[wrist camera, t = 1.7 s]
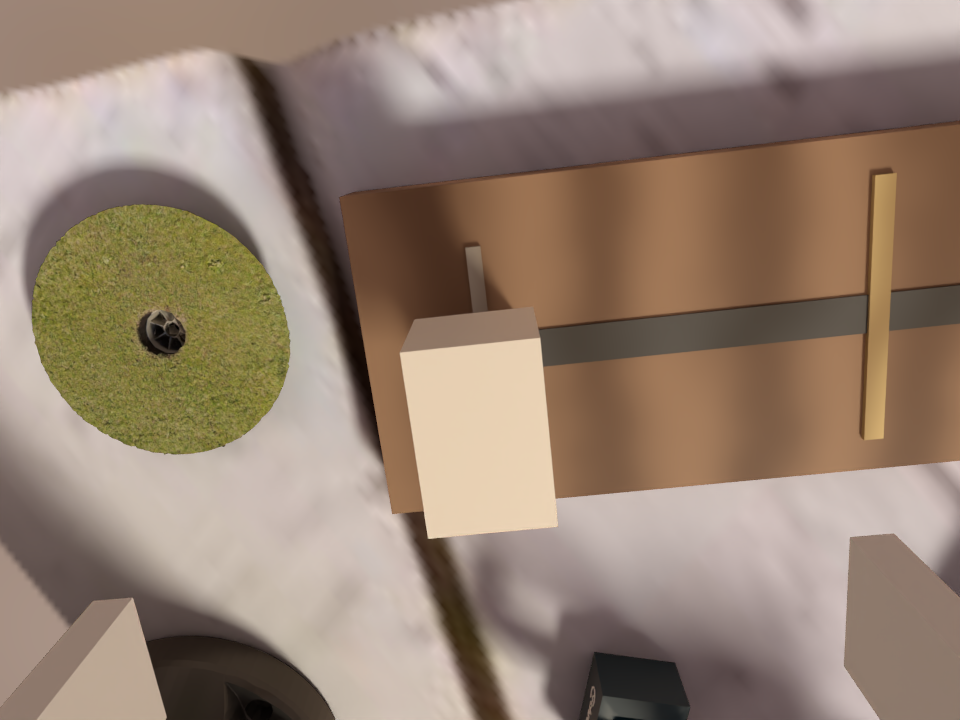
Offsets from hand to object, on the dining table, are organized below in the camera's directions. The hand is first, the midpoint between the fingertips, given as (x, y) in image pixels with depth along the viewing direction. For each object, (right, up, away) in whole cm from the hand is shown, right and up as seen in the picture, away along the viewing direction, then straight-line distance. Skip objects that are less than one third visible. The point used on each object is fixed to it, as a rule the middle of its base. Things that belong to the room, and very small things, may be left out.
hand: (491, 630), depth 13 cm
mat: (-14, +7, +20) cm, 25 cm away
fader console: (+11, +7, +19) cm, 23 cm away
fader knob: (0, +5, +16) cm, 17 cm away
